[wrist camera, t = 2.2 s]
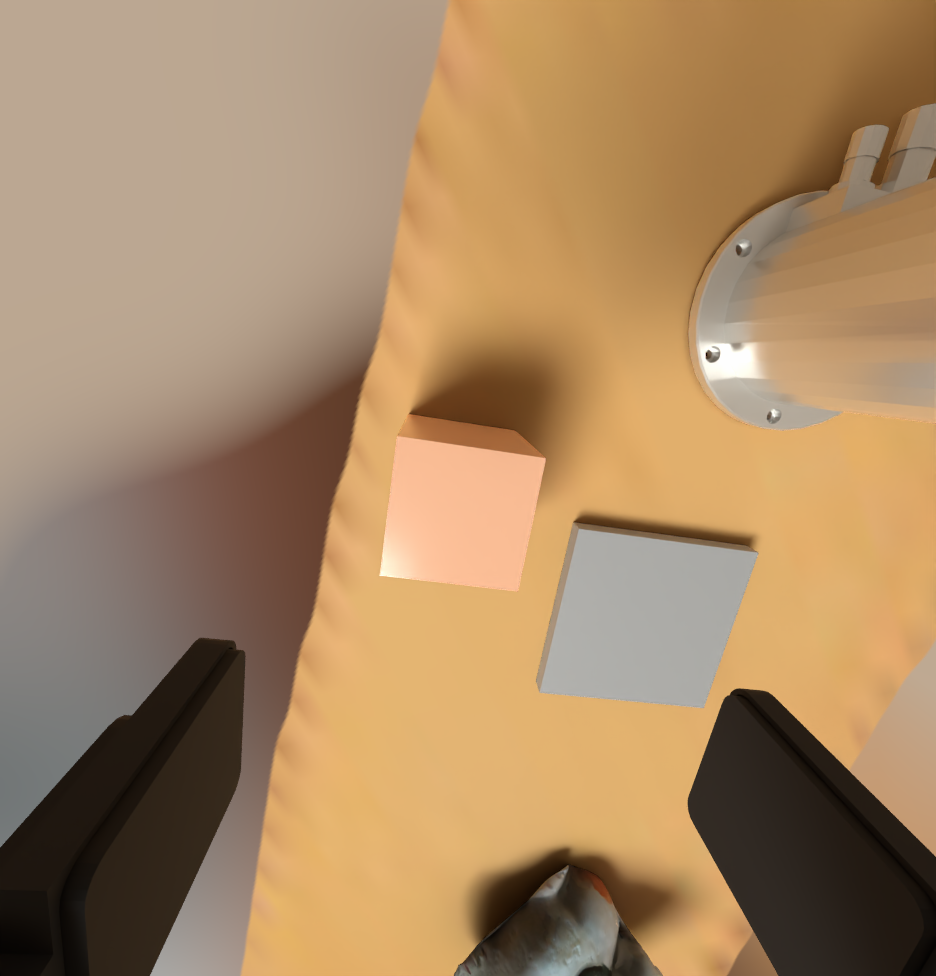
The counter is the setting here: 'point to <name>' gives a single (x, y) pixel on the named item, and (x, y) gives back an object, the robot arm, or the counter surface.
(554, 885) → the lucky cat figurine
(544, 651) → the slate board
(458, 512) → the peach rectangular block
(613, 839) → the counter surface
